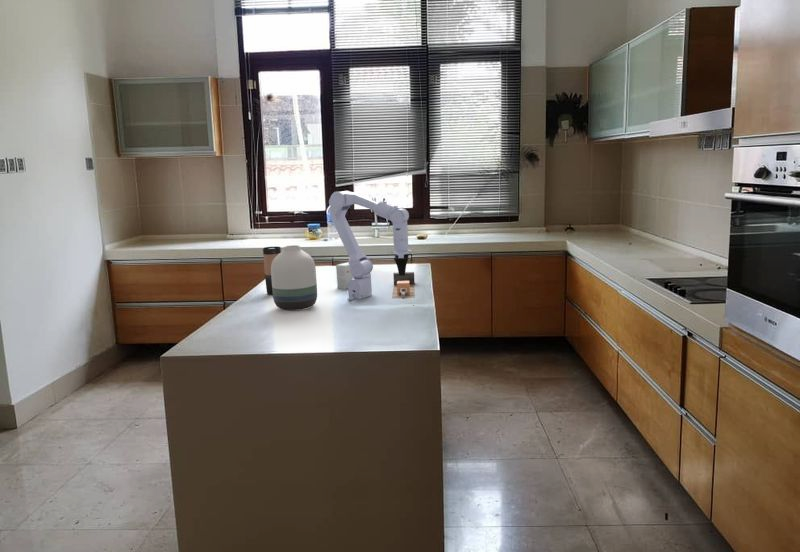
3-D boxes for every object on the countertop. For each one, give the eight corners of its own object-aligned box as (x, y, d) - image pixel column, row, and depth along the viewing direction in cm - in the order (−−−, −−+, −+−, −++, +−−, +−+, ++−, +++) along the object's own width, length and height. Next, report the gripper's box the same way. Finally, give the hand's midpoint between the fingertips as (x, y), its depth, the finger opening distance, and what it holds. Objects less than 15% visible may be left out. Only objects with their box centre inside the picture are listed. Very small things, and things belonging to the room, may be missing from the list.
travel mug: (287, 292, 280) (284, 247, 276) (273, 295, 274) (269, 249, 271) (277, 290, 285) (273, 246, 281) (262, 293, 279) (259, 248, 276)
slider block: (409, 294, 259) (409, 283, 258) (397, 294, 259) (396, 283, 258) (409, 291, 264) (409, 280, 263) (397, 291, 264) (397, 281, 263)
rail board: (414, 300, 252) (414, 285, 251) (391, 301, 252) (391, 286, 251) (414, 285, 283) (414, 271, 282) (394, 285, 283) (393, 272, 282)
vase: (269, 306, 253) (264, 246, 249) (311, 301, 259) (307, 242, 255) (279, 315, 237) (274, 250, 233) (323, 309, 244) (319, 246, 240)
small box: (349, 284, 291) (348, 262, 289) (358, 286, 287) (357, 262, 285) (337, 288, 285) (335, 264, 283) (346, 289, 281) (344, 265, 279)
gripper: (410, 241, 243) (412, 276, 245) (411, 236, 257) (412, 270, 259) (392, 242, 243) (393, 277, 245) (393, 237, 257) (395, 271, 260)
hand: (402, 273), depth 252 cm, fingers open, 6 cm apart
